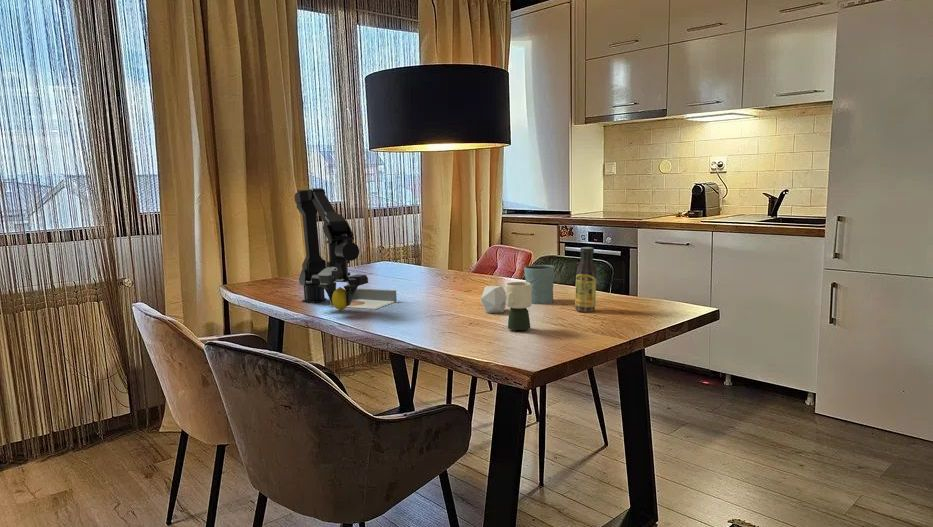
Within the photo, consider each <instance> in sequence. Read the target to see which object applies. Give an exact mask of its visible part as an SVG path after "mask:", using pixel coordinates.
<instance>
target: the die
mask: <svg viewBox="0 0 933 527" xmlns="http://www.w3.org/2000/svg"><path fill="white" fill-rule="evenodd" d="M480 297H481V298H480V303H481V305H482V307H483V309H484V311H485V313H486V314H499V313H504V311H505V309H506V307H507V305H506V299H507V296H506V292H505V289H504V287H503V286H502V285H496V286H495V285H493V286H491V285H489V286H486V285H485V286H484V290H483V292H482V294H481V296H480Z"/></svg>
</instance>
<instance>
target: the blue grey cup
mask: <svg viewBox="0 0 933 527" xmlns="http://www.w3.org/2000/svg"><path fill="white" fill-rule="evenodd" d="M523 271H524V279H525V282H528V283H531V301H532V304H531V305H548V304H552V303H553V302H554V282H555V281H554V280H555V278H554V277H555V266H554V265H551V264H533V265H526V266H524V267H523Z"/></svg>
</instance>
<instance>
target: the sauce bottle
mask: <svg viewBox="0 0 933 527" xmlns="http://www.w3.org/2000/svg"><path fill="white" fill-rule="evenodd" d="M594 251H595V248H594V247H592V246H590V247H589V246H583V247H580V251H579V252H580V262H579V264H578V266H577V268H576V275H575V293H574V294H575V298H574V305H575V308H574V309H575V311H577V312H580V313H592V312H594V311H595V310H596V309H595V308H596V298H597V297H596V296H597V268H596V266H595V264H594Z"/></svg>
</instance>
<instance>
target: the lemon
mask: <svg viewBox="0 0 933 527" xmlns="http://www.w3.org/2000/svg"><path fill="white" fill-rule="evenodd" d="M332 303H333V305H334V307H333V308H335V309H337V310H339V311H340V312H342V311H343V310H345V309H347V308H346V307H347V302H346V290H345V288H344V287H340V286H339V287H337V288H336V290H335V291H334V292H333V295H332Z"/></svg>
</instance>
